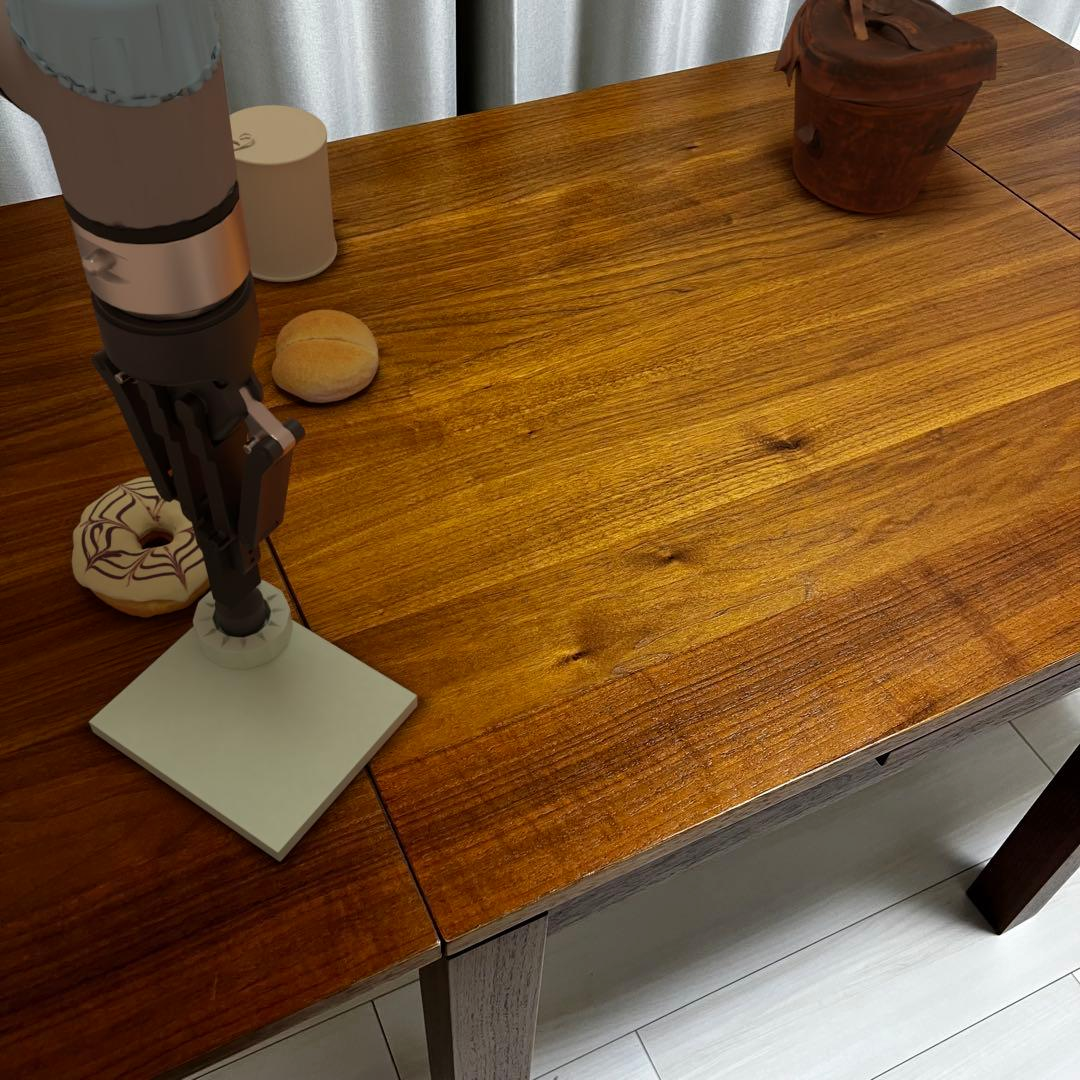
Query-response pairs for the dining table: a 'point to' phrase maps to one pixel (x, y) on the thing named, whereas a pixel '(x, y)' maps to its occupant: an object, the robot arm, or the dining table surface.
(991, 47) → the case
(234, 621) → the button
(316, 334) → the bread roll
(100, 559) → the decorated donut
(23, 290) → the dining table surface
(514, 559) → the dining table surface
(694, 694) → the dining table surface
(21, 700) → the dining table surface
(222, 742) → the scale
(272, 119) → the can
